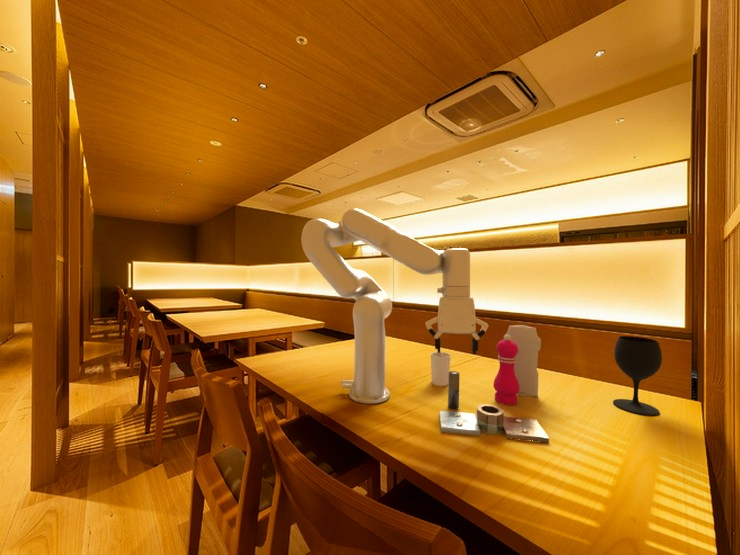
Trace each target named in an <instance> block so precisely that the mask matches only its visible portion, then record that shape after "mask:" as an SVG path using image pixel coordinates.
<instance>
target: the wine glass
mask: <svg viewBox="0 0 740 555" xmlns="http://www.w3.org/2000/svg"><path fill="white" fill-rule="evenodd" d="M660 345H661V344H660V342H659V341H658V340H656V339H652V338H649V337H648V338H647V337H641V336H632V335H619V336H618V338H617V340H616V342H615V346H614V354H613V355H614V362H615V363H616V365H617V366H618V368H619V369H620V370H621V372H623V373H624V374H625V375H626V376H627V377H629V378H630V379H631V380H632V382H633V383H632V384H633V395H632V396H633V398H632V399H627V398H626V399H625V398H617V399H616V398H615V399H613V400H612V403H613V406H615V407H616V408H618V409H620V410H622V411H625V412H628V413H631V414H634V415H635V414H636V415H639V416H646V417H655V416H659V415H660V410H659V409H658V408H656V407H655V406H653V405H650V404H648V403H646V402H641V401H640V400H639V385H640V382H641V381H644V380H646V379H648V378H651V377H652V376H654V375H655V374H656V373H657V372H658V371H659V370H660V368H661V365H662V362H663V361H662V360H663V354H662V348H661V346H660Z"/></svg>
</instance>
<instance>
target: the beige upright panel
mask: <svg viewBox="0 0 740 555" xmlns="http://www.w3.org/2000/svg"><path fill="white" fill-rule="evenodd" d="M505 335H509V336H510V337H511V339H510V340H511V341H513V342H515V343H516V344H517V346H518V353H517V355H516V356H515V357H516V362H515V363H514V372H515V376H516V378H517V380H518V382H519V388H520V390H519V392H518V393H517V394H516V396H523V397H533V398H538V397H539V372H538V364H539V363H538V361H539V359H538V357H539V351H540V350H541V347H542V346H541V345H542V343H541V342H542V338H540V337H539V336H538V332H537V328H536V327H531V326H528V325H525V324H524V325H523V324H518V325H509V326H508V329H507V331H506V333H505V334H503V340H505V339H504V337H505Z"/></svg>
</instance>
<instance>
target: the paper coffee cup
mask: <svg viewBox="0 0 740 555" xmlns="http://www.w3.org/2000/svg"><path fill="white" fill-rule="evenodd" d="M451 357H452V356H451V354H450V352H445V351H440V353H438V351H433V352H431V353H430V363H431V364H430V369H431V370H430V371H431V383H432V384H433V385H435V386H437V387H438V386H439V387H445V386H448V380H449V371H450V368H451Z"/></svg>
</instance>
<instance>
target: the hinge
mask: <svg viewBox="0 0 740 555" xmlns="http://www.w3.org/2000/svg"><path fill="white" fill-rule="evenodd" d="M439 422H440V423H439V424H440V433H449V434H456V435H457V434H459V435H468V436H476V437H477V436H478V437H480V436H481V432H482V433H485V434H489V435H500V434H502V433H505V434H504V435H506V436H505V438H506V437H507V438H512V439H511V440H514V439H520V440H519V441H524V440H531V441H530V442H533V441H540V442H539V443H542V442H547V443H546V444H550V438H549V436H548V434H547V433H546V432H545V430H544V429H543V427H542V426H541V424H539V422H538V421H537V419H534V418H525V417H514V416H505V412H504V410H503V409H502V408H501V407H499V406H496V405H494V404H487V403H482V404H479V405H477V406H476V414H475V413H472V412H471V413H469V412H461V411H449V410H439ZM507 438H506V439H507ZM532 440H533V441H532Z"/></svg>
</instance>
